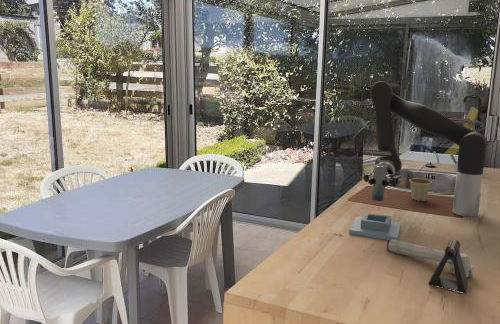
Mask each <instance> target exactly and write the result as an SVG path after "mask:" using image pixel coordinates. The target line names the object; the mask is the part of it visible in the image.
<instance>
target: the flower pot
mask: <svg viewBox="0 0 500 324" xmlns="http://www.w3.org/2000/svg"><path fill="white" fill-rule="evenodd" d="M409 183H410V191H411V192H410V194H411V199H412V200H413V199H414V200H413V201H416V200H417V202H420V201H422V202H426V201H427V198H428V195H429V191H430V187H431V184H432V181H431V180H429V179H425V178H410V179H409Z"/></svg>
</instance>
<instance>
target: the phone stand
mask: <svg viewBox="0 0 500 324" xmlns="http://www.w3.org/2000/svg"><path fill="white" fill-rule="evenodd" d="M453 242H454V239H453V238H452V239H449V240H448V242H447V245H446V247H445V249H444V251H445V255H444V256H443V258H442V260H441V261H440V262H439V263H438V264H437V267H436V269H435V270H434V271H433V273H432V275H431V276H430V277H431V278H430V279H429V282H428V286H431V285H433V286H432V287H435V286H439V287H443V288H447V289H451V290H455V291H459V292H463V293H465V294H466V293H467V290H468V285H469V282H468V277H466V274H465V270H464V267H463V263H462V259H461V256H460V253H461V251H460V249H461V242H460V241H459V240H457V239H456V241H455V243H454V246H453V248H452V244H453ZM448 259H451V260H453V264H454V270H455V274H454V276H455V280H454V279H450V278H446V277H443V276H441V275H442V273H443V271H444V268H445V266H446V264H447V263H446V262H447V260H448ZM439 287H438V288H439ZM443 288H442V289H443ZM447 289H446V290H447Z"/></svg>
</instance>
